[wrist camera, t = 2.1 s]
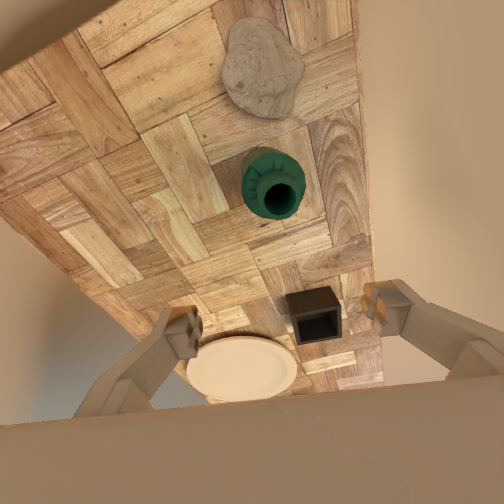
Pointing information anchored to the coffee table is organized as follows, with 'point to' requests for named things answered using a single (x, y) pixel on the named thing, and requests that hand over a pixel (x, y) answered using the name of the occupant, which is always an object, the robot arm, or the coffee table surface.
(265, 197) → the bottle
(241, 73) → the stone
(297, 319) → the holder
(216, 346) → the plate
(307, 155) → the coffee table surface
